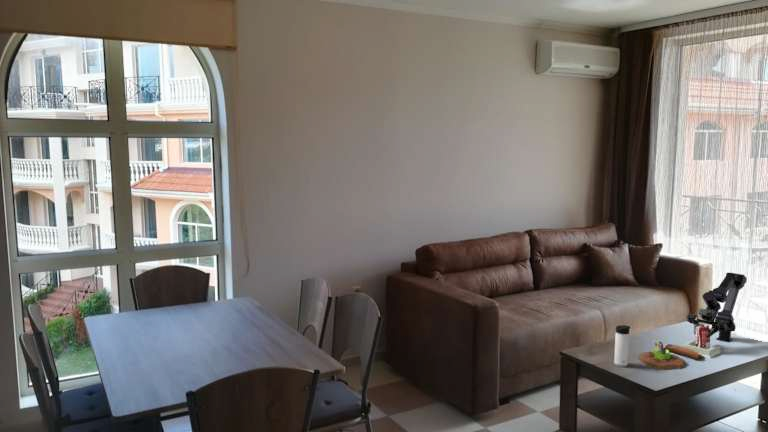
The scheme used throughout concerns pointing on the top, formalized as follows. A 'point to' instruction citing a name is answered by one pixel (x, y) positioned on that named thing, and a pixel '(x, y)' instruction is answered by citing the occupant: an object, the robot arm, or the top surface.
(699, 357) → the sunglasses case
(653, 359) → the plant
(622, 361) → the travel mug
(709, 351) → the can rack
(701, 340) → the soda can
